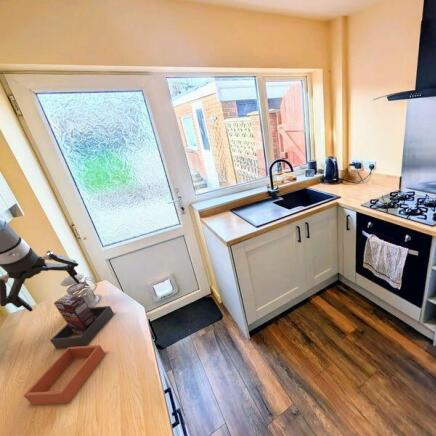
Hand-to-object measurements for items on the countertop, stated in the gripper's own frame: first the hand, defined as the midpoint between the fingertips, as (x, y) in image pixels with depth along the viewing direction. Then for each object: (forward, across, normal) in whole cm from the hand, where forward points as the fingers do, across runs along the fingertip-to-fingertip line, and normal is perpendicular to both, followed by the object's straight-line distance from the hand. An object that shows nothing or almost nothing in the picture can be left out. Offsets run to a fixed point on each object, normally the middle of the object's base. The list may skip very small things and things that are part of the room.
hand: (54, 294), depth 85 cm
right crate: (+21, -1, -5) cm, 21 cm away
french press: (+28, +5, +13) cm, 31 cm away
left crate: (+14, -10, -23) cm, 28 cm away
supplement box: (+21, -1, -5) cm, 22 cm away
